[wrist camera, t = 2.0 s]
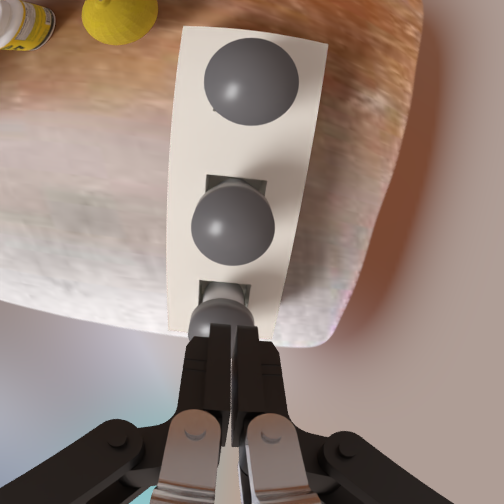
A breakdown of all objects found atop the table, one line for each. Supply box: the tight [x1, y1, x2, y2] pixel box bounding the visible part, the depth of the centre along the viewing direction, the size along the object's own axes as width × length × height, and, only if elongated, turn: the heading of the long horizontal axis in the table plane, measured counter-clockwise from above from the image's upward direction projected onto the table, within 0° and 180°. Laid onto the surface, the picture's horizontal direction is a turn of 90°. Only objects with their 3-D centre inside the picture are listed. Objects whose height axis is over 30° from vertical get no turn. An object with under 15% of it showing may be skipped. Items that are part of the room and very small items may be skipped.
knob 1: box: [204, 38, 299, 126], centre depth 18 cm, size 5×5×6 cm
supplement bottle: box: [0, 0, 55, 51], centre depth 15 cm, size 5×5×8 cm
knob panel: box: [166, 26, 328, 339], centre depth 25 cm, size 26×10×5 cm, turn 173°
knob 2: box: [188, 281, 255, 358], centre depth 26 cm, size 5×5×6 cm
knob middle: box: [191, 178, 275, 266], centre depth 22 cm, size 5×5×6 cm
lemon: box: [82, 0, 158, 45], centre depth 16 cm, size 6×6×8 cm
